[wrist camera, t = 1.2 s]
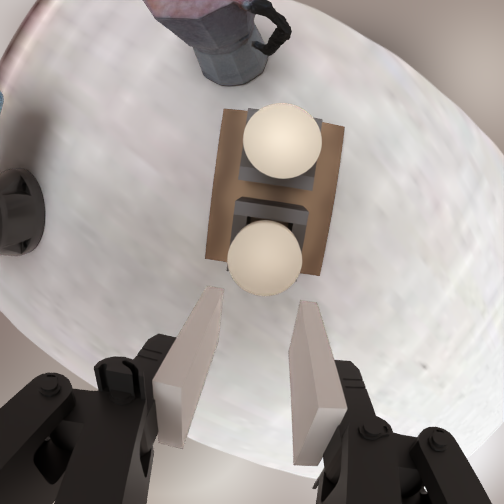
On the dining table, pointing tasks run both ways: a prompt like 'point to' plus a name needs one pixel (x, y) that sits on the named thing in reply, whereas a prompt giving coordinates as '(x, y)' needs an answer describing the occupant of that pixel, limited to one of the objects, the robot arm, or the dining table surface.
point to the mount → (272, 193)
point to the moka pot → (223, 34)
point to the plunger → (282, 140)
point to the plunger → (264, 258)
